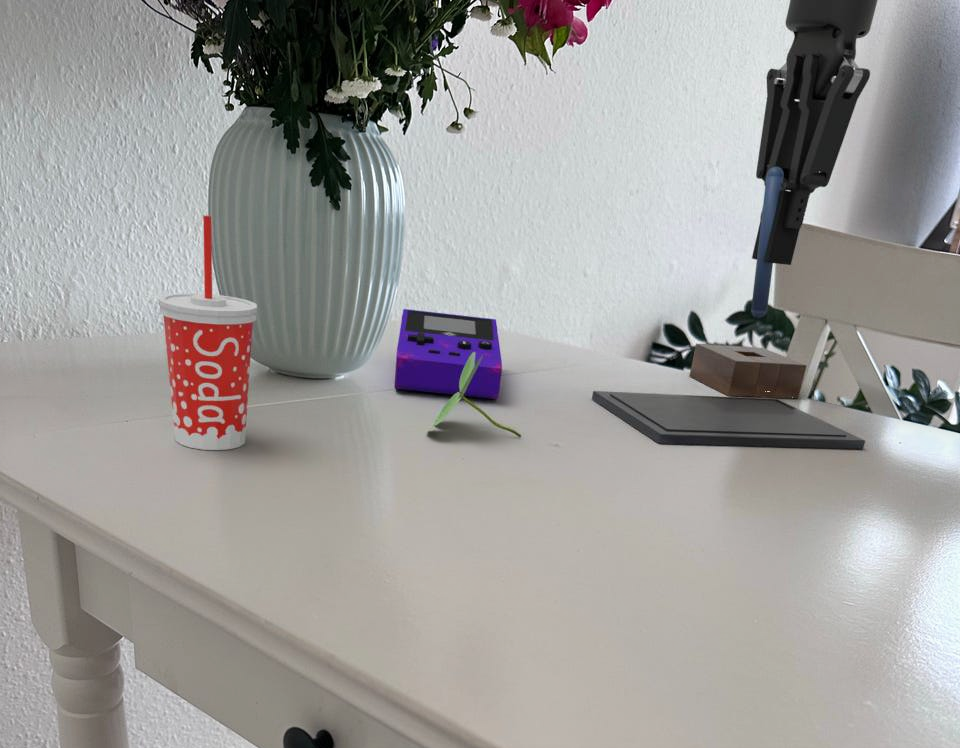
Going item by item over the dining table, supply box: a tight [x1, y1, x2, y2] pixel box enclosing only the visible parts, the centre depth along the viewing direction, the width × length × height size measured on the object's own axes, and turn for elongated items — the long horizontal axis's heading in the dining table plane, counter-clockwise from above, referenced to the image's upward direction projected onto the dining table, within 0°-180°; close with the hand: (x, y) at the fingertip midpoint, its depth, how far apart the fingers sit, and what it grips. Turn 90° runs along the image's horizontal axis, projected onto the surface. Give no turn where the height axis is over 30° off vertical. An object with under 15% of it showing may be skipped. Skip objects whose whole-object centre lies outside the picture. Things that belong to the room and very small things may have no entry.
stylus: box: [750, 167, 784, 319], centre depth 96 cm, size 2×2×14 cm
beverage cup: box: [157, 214, 258, 451], centre depth 62 cm, size 6×6×14 cm
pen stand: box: [688, 343, 808, 399], centre depth 102 cm, size 8×8×4 cm
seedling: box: [428, 352, 522, 438], centre depth 74 cm, size 7×8×7 cm
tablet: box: [591, 390, 866, 450], centre depth 86 cm, size 20×14×1 cm
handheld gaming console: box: [394, 308, 503, 400], centre depth 89 cm, size 9×5×15 cm
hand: (771, 261), depth 97 cm, fingers closed on stylus, 1 cm apart
